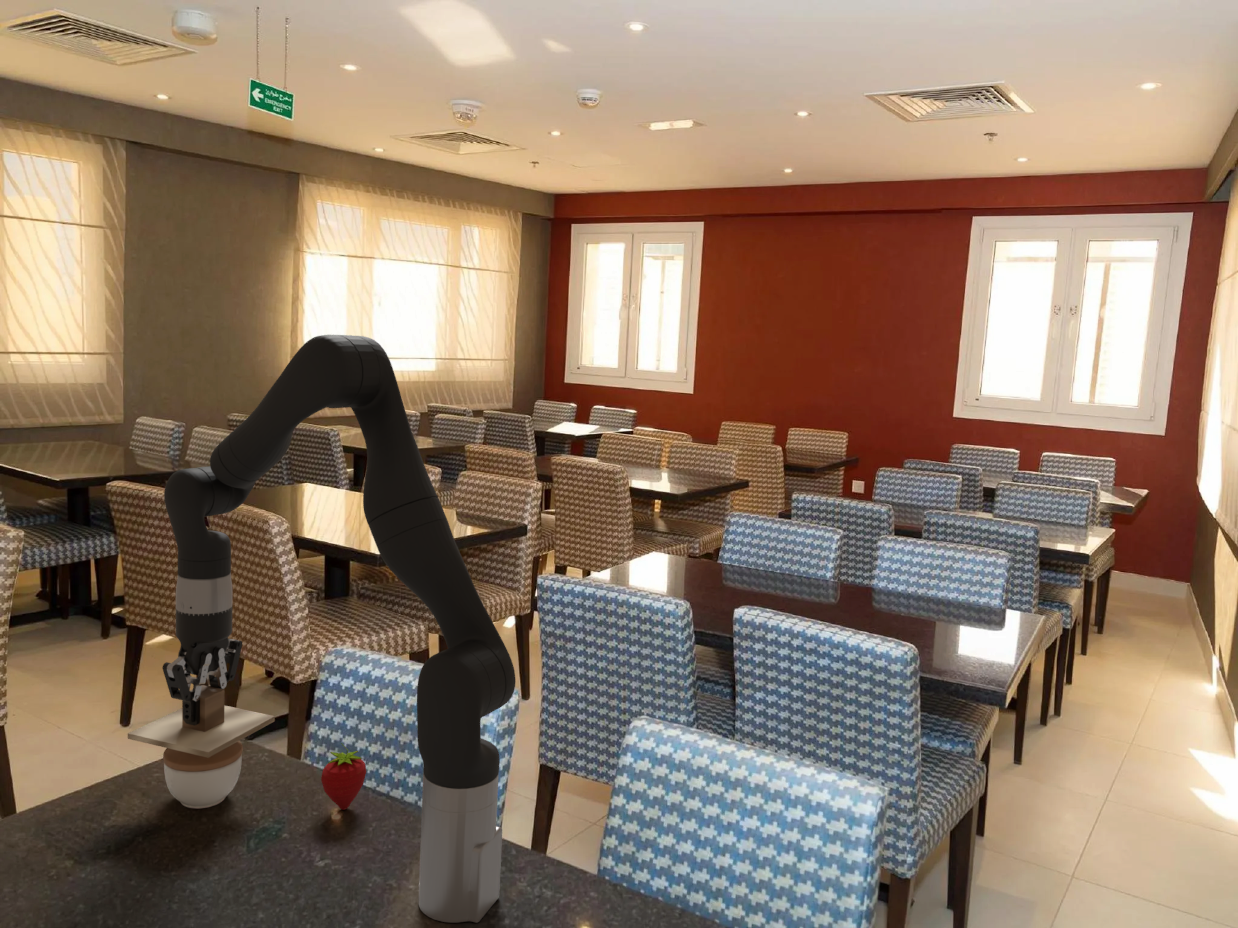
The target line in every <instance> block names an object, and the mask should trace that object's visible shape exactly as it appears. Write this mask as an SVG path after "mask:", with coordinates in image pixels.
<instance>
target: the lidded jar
mask: <svg viewBox="0 0 1238 928" xmlns="http://www.w3.org/2000/svg"><path fill="white" fill-rule="evenodd" d="M243 747H244V746H243V743H242V742H241V740H240V741H238V742H236V743H234V744H232V745H231V746H229V747H227V748H225V749H223V750H221V751H220V752H218V753H216V754H214V755H212V756H211V757H209V758H207V757H203V756H199V755H194V754H190V753H186V752H182V751H178V750H173V749H169V748H165V750H164V751H163V754H162V755H163V757H162V758H163V769H164V780H165V782H166V787H167V789H168V791H169V793H170V794H171V796H172V797H173V798H174V799H176V800H177V801H178V802H180V804H181V805H182V806H184V807H185V808H188V809H206V808H207V809H208V808H211V807H215V806H217V805H219V804H221V803H222V802H223V801H224V800H225V799H226V797H227V796H229V794H230V792H232V791H233V789H234V788H235V787H236V786H237V783H238V780H239V777H240V774H241V770H242V769H241V768H242V762H243V761H242V756H243Z"/></svg>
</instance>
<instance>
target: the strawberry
mask: <svg viewBox="0 0 1238 928" xmlns="http://www.w3.org/2000/svg"><path fill="white" fill-rule="evenodd" d="M340 744H341V745H342V746H343V748H345V750H347V752H346V753H345V752H335V751H329V752H330V754H331V755H332V756H334V757H335V758H334V759H332V760H330V761H329V762H327V764H326V765H325V766H324V768H323V769H322V773H321V777H320V778H321V779H320V780H321V785H322V787H323V790H324V793H325V794H326V795H327V797H329V798H330V800H331V801H332V802H333V803H334V804H335V805H337V806H338V808H339V809H340V810H347V809H348V808H349V807H350V806H351V803H352V802H353V801H354V799H355V798H356V797H357V795H358V794H359V792H360V790H361V789H362V787H363V786H364V785H363V784H364V782H365V779H366V775H367V767H366V763H365V761H364V760H363V759H364V758H363V757H361V756H357V755H355V754H357V753H359V750H356V751H350V752H349V749H348V748H347V747H346V745H344V744H343V743H342V742H340Z"/></svg>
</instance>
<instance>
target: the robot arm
mask: <svg viewBox="0 0 1238 928" xmlns="http://www.w3.org/2000/svg"><path fill="white" fill-rule="evenodd" d="M402 398H403V397H402V395H401V391H400V388H399V384H398V381H397V377H396V375H395V372H394V368H393V364H392V362H391V360H390V358H389V356H388V353H387V352H386V350H385V349H384V348H383V347H382V345H381V344H380V343H378V342H377V341H376V340H375V339H373V338H371V337H367V336H364V335H351V334H349V335H348V334H346V335H345V334H324V335H322V334H321V335H317V336H314V337H312V338H310V339H309V340H307V341H306V342H305V343H304V344H303V345H302V346H301V347H300V348H299V349H298V350H297V351H296V352H295V354H294V356H292V358H291V359H290V361H289V362H288V363H287V365H286V366H285V368H284V369H283V371H282V372H281V374H279V376H278V378H276V381H275V382H274V383H273V384H272V386H271V387H270V389H269V390H268V391H267V392H266V395H264V396H263V398H262V400H261V401H260V402H259V404H257V407H255V408H254V410H253V411H252V412H251V414H249V415H248V417H246V418H245V419H244V420H243V421H242V422H241V423H240V424H239V425H238V426H237V427H235V429H234V430H233V431H232V432H230V433H229V434H228V435H227V436H226V437H225V438H224V439H223V440H222V441H221V442H220V443H218V444H217V446H216V447H215V448H214V449H213V450H212V452H211V455H210V457H209V458H210V459H209V465H208V466H200V467H198V466H197V467H190V468H182V469H178V470H176V471H175V472H173V473H172V474H171V475H170V477H169V478H168V480H167V482H166V483H165V487H164V491H163V493H164V494H163V496H164V497H163V499H164V500H163V501H164V505H165V509H166V512H167V515H168V518H169V522H170V526H171V528H172V532H173V536H174V539H175V543H176V546H177V579H176V586H175V587H176V588H175V637H176V638H177V639H178V641H179V643H180V647H179V650H178V654H177V658H176V659H175V660H173V661H172V662H167V661H166V662H164V663H163V665H162V672H163V676H164V678H165V682H166V685H167V689H168V692H169V695H170V697H171V699H176V700H180V701H182V700H183V720H184V721H185V723H186V724H190V725H194V726H195V725H197V724H199V723H200V700H199V698H200V693H201V688H202V685H205V684H206V683H207V686H209V687H214V688H219V689H224V690H225V688H226V687H227V683H228V682H229V681H230V682H232V681H234V680H235V678H236V673H237V670H238V669H237V668H238V665H239V662H240V661H239V660H240V656H241V652H242V647H243V642H242V641H243V640H238V639H233V638H229V637H230V636H231V634H232V633H233V598H234V597H233V591H234V590H233V581H232V573H231V572H232V542H231V539H230V537H229V536H228V534H226V533H225V532H222V531H217V530H209V529H208V528H207V525H206V522H205V517H210V516H211V517H212V516H218V515H224V514H227V513H231V512H233V511H235V510H236V509H238V508H239V507H240V506H241V505H243V503H244V502H245V501H246V500H247V498H248V497H249V495H250V493H251V491H252V490H253V489H254V486H255V484H256V482H257V481H258V480H259V479H261V478H262V477H263V476H264V475H265V474H266V473H267V472H269V471H271V470H272V468H274V467H275V466H276V465H277V464H278V462H279V461H281V460H282V458H283V457H284V456H285V454H286V453H287V451H288V449H289V448H290V446H291V442H292V438H293V433H294V431H295V429H296V428H297V427H298V426H299V424H301V423H302V422H303V421H304V420H306V419H308V418H309V417H311V416H312V415H315V413H318V412H320V411H322V410H325V409H326V408H327V409H342V408H343V409H344V408H347V409H348V408H350V409H351V410H352V412H353V414H354V416H355V418H356V421H357V423H358V425H359V427H360V430H361V433H362V435H363V439H364V442H365V446H366V447H365V448H366V455H367V458H366V469H365V476H364V484H363V494H362V497H363V498H362V505H363V506H362V508H363V514H364V517H365V520H366V523H367V525H368V527H369V531H370V533H371V535H372V538H373V540H374V543H375V546H376V549H377V551H378V553H379V555H380V557H381V559H382V560H383V562H384V563H385V565H386V566H387V568H388V569H389V570H390V571H391V572H392V573H393V574H394V576H395V577H396V578H398V579H399V581H400V582H401V583H402V584H404V585H405V587H407V588H408V589H409V590H410V591H411V592H412V593H413V594H414V595H415V596H417V597H418V599H419V600H420V601H422V603H423V604H425V606H426V607H427V608H428V610H429V611H430V612H431V614H432V615H433V616H434V619H435V620H436V622H437V625H438V627H439V629H440V631H441V633H442V636H443V638H444V640H445V643H446V646H447V649H444V650H441V651H439V652H436V653H435V654H433V655H431V656H430V657H429V658H428V659H426V661H425V662H424V664H423V665H422V667H421V669H420V671H419V674H418V678H417V679H418V680H417V686H416V687H417V689H416V721H417V722H416V723H417V724H416V725H417V727H416V728H417V733H416V734H417V745H418V751H419V754H420V756H421V759H422V763H423V768H422V769H423V771H422V772H423V773H422V797H421V799H422V800H421V822H420V823H421V824H420V825H421V826H420V846H419V847H420V850H419V851H420V852H419V880H418V907H419V909H420V911H421V912H422V913H423V914H424V915H425V916H427V917H428V918H430V919H432V920H435V921H439V922H442V923H443V922H444V923H464V922H473V923H479V922H480V921H481V920H482V918H484V917H485V916H486V914H487V913H488V911H489V910H490V909H491V907H492V906H493V905H494V904H495V903H496V901H497V900H498V899H499V898H500V887H501V886H500V885H501V865H502V864H501V863H502V846H503V845H502V844H503V843H502V842H503V828H502V827H501V826H498V825H497V817H498V816H497V815H498V796H499V795H498V794H499V778H500V777H499V773H500V759H501V758H500V752H499V749H498V748H497V746H496V745H495V744H494V743H492V742H491V741H488V740H486V739H484V738H481V737H482V735H481V734H482V733H481V719H482V718H483V717H486V716H488V715H490V714H491V713H493V712H494V711H496V710H498V709H501V707H504V706H505V705H506V704H508V702H509V701H510V700H511V698H512V697H513V695H514V694H515V693H514V692H515V688H516V673H515V672H516V671H515V667H514V663H513V660H512V658H511V655H510V654H509V650H508V649H507V647H506V645H505V642H504V641H503V639H502V637H501V635H500V634H499V631H498V630H497V627H496V626H495V624H494V622H493V620H492V619H491V616H490V615H489V613H488V611H487V609H486V607H485V605H484V603H483V601H482V600H481V598H480V595H479V593H478V590H477V589H476V586H475V585H474V581H473V580H472V577H471V575H470V573H469V570H468V568H467V566H466V563H465V561H464V559H463V556H462V554H461V551H460V550H459V546H458V545H457V542H456V541H455V537H454V535H453V532H452V529H451V526H450V524H449V521H448V518H447V516H446V513H445V511H444V509H443V506H442V504H441V501H440V499H439V496H438V493H437V492H436V490H435V487H434V486H433V483H432V480H431V478H430V476H429V474H428V470H427V469H426V465H425V463H424V461H423V458H422V455H421V451H420V450H419V446H418V444H417V441H416V439H415V437H414V434H413V432H412V428H411V424H410V422H409V419H408V415H407V412H406V408H405V405H404V402H403V399H402ZM227 664H229V667H228V670H227ZM192 675H194V676H192ZM195 676H197V677H195ZM191 685H192V689H193V691H190V690H191Z"/></svg>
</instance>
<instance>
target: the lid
mask: <svg viewBox="0 0 1238 928" xmlns="http://www.w3.org/2000/svg"><path fill="white" fill-rule="evenodd" d="M190 691H193V688H192V689H190ZM199 700H200V723H199V724H197V725H195V726H194V725H190V724H186V723H185V721H184V720H183V700H181V701H182V702H181V703H182V704H181V706H182V707H181V708H179V709H177V710H175V711H173V712H171V713H168V714H166V715H164V716H162V717H160V718H158V719H156V720H153V721H151V722H149V723H147V724H145V725H143V726H140V727H138V728H136V729H135V730H131V731H130V732H128V733H127V740H132V741H136V742H140V743H145V744H148V745H153V746H157V747H161V748H165V749H166V748H169V749H173V750H178V751H182V752H186V753H190V754H194V755H199V756H203V757H207V758H209V757H211V756H212V755H214V754H216V753H218V752H220V751H221V750H223V749H225V748H227V747H229V746H231V745H232V744H234V743H236V742H238V741H240V742H241V740H244V739H245V738H247V737H249V736H251V735H252V734H254V733H256V732H258V731H259V730H260V731H261V730H262V729H263V728H265V727H266V726H267V727H268V726H269V725H271V724H272V723H274V722H275V721H276V719H275V718H276V716H275V715H270V714H268V713H261V712H256V711H252V710H247V709H243V708H239V707H233V706H230V705H229V706H228V705H225V688H224V689H219V688H214V687H210V686H209V685H205V684H203V685H202V688H201V693H200V698H199Z"/></svg>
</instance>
